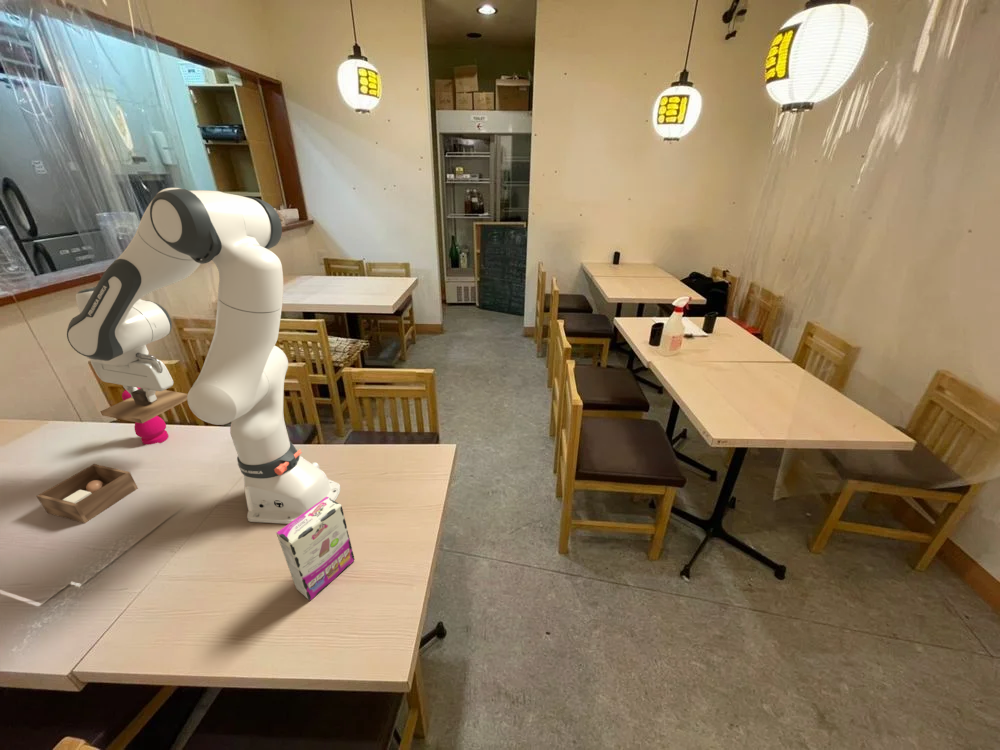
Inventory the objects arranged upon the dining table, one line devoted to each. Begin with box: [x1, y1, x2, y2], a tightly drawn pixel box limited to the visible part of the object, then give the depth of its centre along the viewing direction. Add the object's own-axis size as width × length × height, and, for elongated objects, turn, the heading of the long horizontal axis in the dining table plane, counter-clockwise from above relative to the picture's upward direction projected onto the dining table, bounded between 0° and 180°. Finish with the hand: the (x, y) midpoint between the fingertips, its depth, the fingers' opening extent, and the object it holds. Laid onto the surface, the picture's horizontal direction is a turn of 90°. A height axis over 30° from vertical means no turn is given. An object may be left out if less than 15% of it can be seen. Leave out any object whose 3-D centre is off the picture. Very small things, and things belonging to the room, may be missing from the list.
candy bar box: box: [275, 496, 356, 601], centre depth 79 cm, size 11×5×16 cm, turn 148°
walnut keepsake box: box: [36, 463, 139, 524], centre depth 98 cm, size 12×12×6 cm
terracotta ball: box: [86, 480, 104, 493], centre depth 102 cm, size 3×3×3 cm
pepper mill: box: [121, 388, 169, 446], centre depth 118 cm, size 7×7×20 cm
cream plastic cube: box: [63, 490, 92, 504], centre depth 97 cm, size 4×4×4 cm
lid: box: [99, 388, 188, 423], centre depth 104 cm, size 13×13×5 cm
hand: (145, 399), depth 104 cm, fingers closed on lid, 3 cm apart
